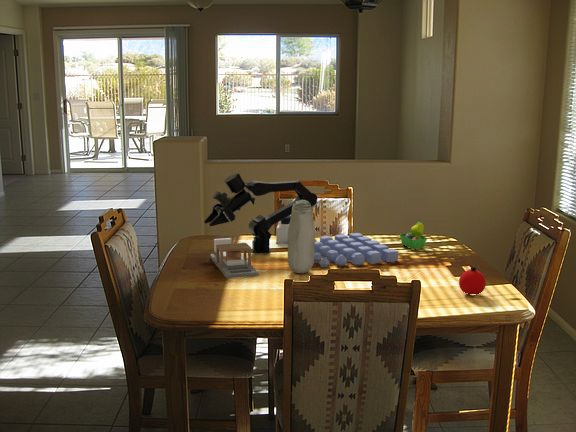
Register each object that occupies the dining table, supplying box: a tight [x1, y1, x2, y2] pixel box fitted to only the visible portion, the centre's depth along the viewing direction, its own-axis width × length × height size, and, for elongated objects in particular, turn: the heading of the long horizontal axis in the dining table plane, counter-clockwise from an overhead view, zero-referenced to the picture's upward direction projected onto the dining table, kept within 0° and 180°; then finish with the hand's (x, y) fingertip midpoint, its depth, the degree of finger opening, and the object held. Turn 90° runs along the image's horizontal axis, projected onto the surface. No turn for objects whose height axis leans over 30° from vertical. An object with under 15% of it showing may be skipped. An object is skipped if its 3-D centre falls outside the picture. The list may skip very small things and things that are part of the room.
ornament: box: [458, 266, 487, 295], centre depth 228 cm, size 9×9×10 cm
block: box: [226, 251, 242, 260], centre depth 259 cm, size 5×5×4 cm
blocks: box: [313, 232, 399, 269], centre depth 280 cm, size 35×34×5 cm
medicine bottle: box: [275, 215, 291, 245], centre depth 300 cm, size 7×7×12 cm
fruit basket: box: [399, 221, 428, 249], centre depth 293 cm, size 11×9×11 cm
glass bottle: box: [287, 200, 316, 274], centre depth 251 cm, size 10×10×28 cm
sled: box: [213, 237, 245, 266], centre depth 266 cm, size 7×24×5 cm, turn 18°
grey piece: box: [209, 242, 259, 279], centre depth 260 cm, size 12×30×8 cm, turn 18°
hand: (207, 223), depth 271 cm, fingers open, 9 cm apart
